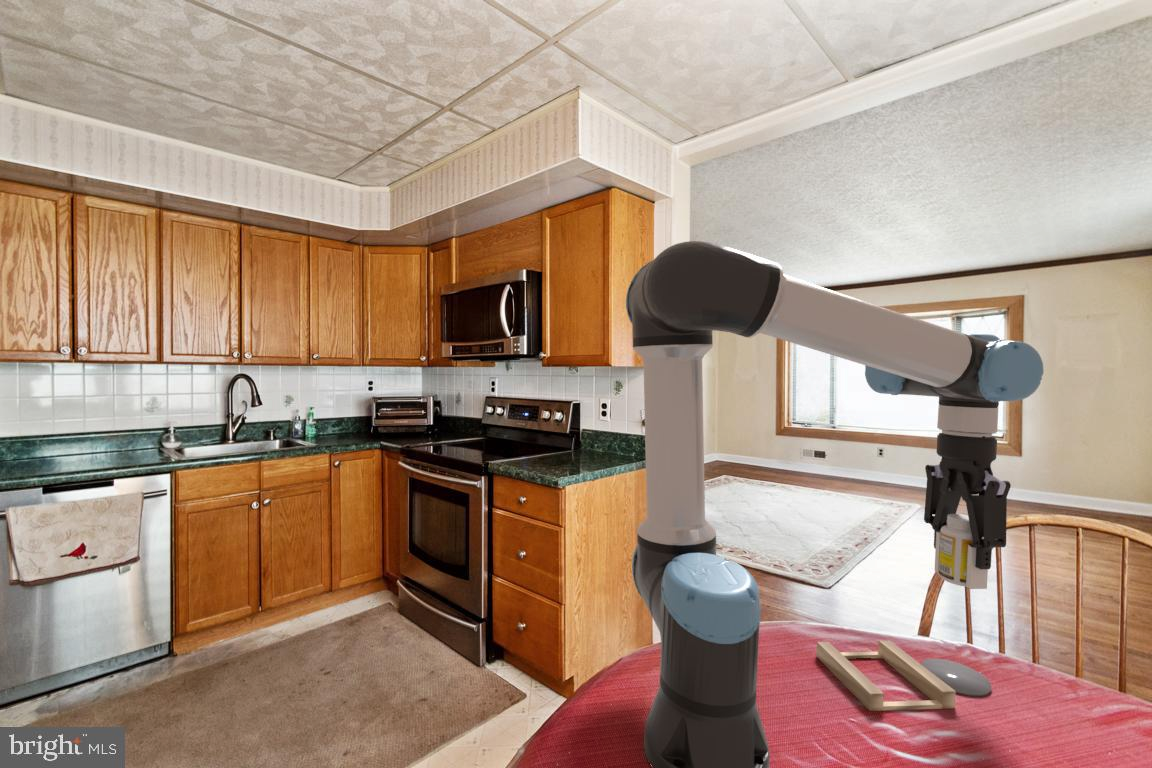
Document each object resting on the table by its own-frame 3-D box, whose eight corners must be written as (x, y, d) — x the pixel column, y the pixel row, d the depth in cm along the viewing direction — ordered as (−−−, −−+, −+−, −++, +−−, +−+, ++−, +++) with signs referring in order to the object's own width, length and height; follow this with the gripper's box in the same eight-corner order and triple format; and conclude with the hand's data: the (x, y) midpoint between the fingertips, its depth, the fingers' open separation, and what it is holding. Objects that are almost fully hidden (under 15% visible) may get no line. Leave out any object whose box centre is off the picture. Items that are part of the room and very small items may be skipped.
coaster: (950, 696, 78) (951, 693, 78) (907, 662, 87) (907, 659, 87) (1006, 695, 79) (1006, 691, 79) (958, 661, 88) (958, 658, 88)
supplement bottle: (986, 582, 82) (989, 518, 81) (976, 591, 78) (979, 524, 78) (944, 571, 86) (947, 510, 86) (933, 579, 83) (936, 515, 82)
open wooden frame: (869, 711, 74) (870, 693, 74) (816, 656, 88) (817, 641, 88) (954, 708, 75) (955, 691, 75) (889, 654, 89) (889, 640, 89)
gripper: (1046, 442, 72) (1038, 606, 73) (942, 426, 91) (936, 557, 92) (997, 441, 72) (988, 606, 73) (902, 426, 90) (896, 558, 91)
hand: (959, 579), depth 82 cm, fingers closed on supplement bottle, 6 cm apart
